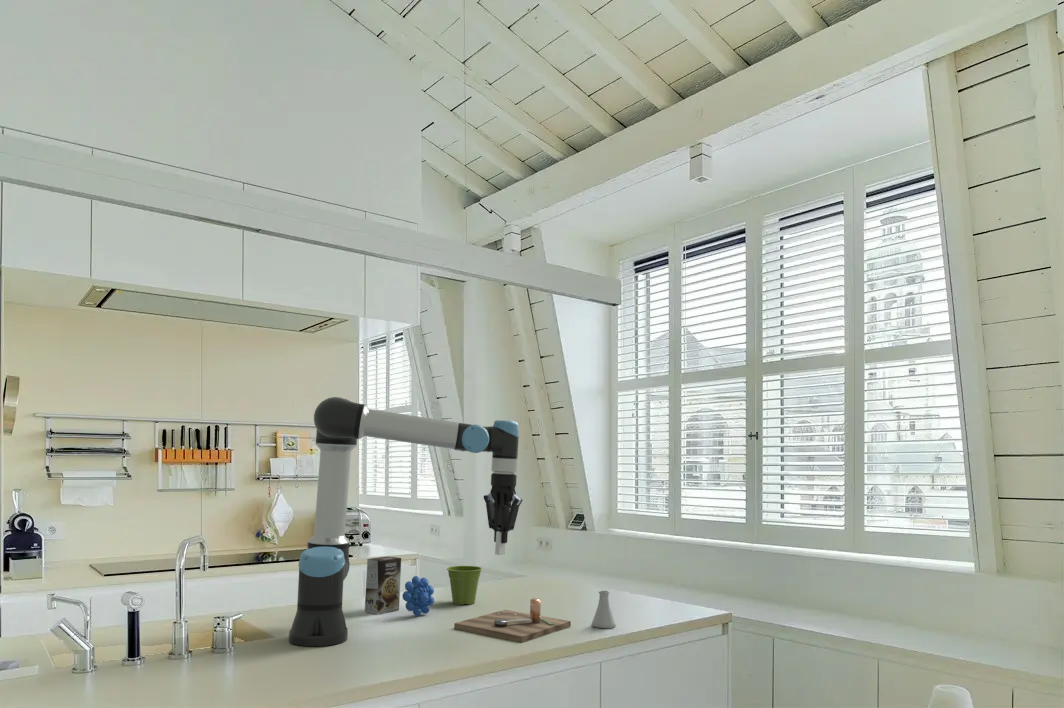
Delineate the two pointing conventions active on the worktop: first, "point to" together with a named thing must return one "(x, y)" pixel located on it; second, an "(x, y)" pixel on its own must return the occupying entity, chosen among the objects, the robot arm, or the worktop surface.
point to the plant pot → (464, 583)
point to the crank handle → (534, 617)
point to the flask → (603, 612)
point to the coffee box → (383, 585)
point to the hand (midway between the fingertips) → (499, 554)
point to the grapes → (418, 595)
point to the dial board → (512, 626)
